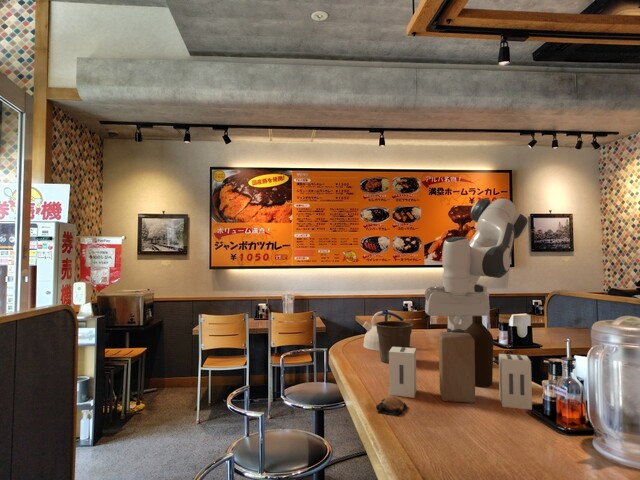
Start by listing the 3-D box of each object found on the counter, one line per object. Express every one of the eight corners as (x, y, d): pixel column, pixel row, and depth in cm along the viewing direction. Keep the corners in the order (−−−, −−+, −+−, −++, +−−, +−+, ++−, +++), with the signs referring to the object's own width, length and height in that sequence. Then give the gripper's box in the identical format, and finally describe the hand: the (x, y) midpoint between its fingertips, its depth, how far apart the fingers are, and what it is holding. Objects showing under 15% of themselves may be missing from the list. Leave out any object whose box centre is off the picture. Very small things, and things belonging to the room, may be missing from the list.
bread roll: (381, 403, 128) (381, 391, 128) (408, 406, 125) (408, 394, 125) (373, 415, 118) (372, 402, 118) (402, 419, 115) (402, 405, 115)
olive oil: (479, 389, 140) (477, 315, 141) (456, 381, 149) (455, 311, 151) (501, 385, 145) (499, 313, 146) (477, 377, 154) (476, 310, 155)
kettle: (363, 342, 219) (363, 308, 220) (402, 343, 216) (402, 309, 217) (361, 350, 199) (361, 313, 200) (405, 352, 196) (405, 314, 197)
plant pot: (388, 367, 168) (388, 327, 169) (368, 358, 183) (368, 322, 184) (421, 363, 175) (420, 325, 176) (399, 355, 190) (399, 319, 190)
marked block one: (392, 387, 142) (392, 346, 142) (416, 390, 139) (416, 347, 140) (389, 395, 134) (388, 351, 134) (414, 397, 131) (413, 352, 132)
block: (475, 404, 125) (474, 338, 126) (441, 401, 128) (441, 336, 128) (470, 393, 135) (470, 332, 136) (439, 391, 137) (438, 331, 138)
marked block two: (499, 398, 131) (498, 353, 132) (527, 400, 129) (526, 354, 129) (502, 406, 123) (501, 359, 124) (532, 409, 121) (531, 361, 122)
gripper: (428, 287, 129) (428, 331, 128) (491, 287, 130) (492, 331, 130) (422, 286, 135) (422, 328, 135) (482, 285, 137) (483, 327, 136)
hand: (457, 329), depth 132 cm, fingers closed
